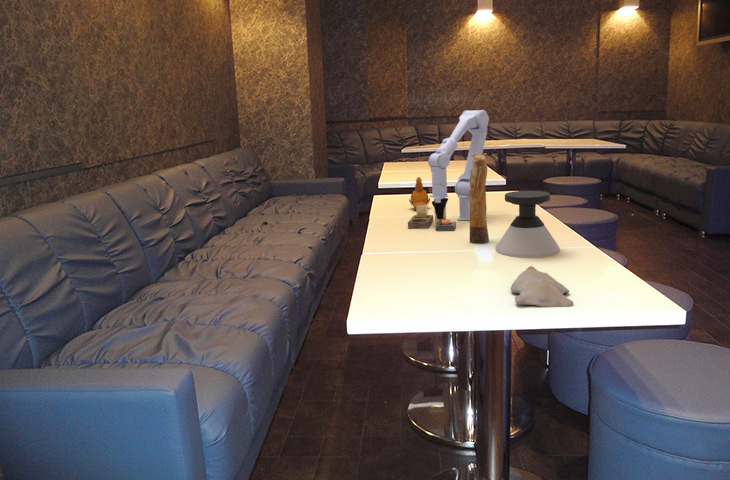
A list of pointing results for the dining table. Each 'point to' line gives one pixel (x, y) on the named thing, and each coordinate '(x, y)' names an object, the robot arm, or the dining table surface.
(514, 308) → the dining table surface
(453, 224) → the button housing
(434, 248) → the dining table surface
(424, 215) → the block
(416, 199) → the toy
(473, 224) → the sculpture
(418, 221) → the brown compartment tray
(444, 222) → the button
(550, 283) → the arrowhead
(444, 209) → the block
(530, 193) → the light fixture
